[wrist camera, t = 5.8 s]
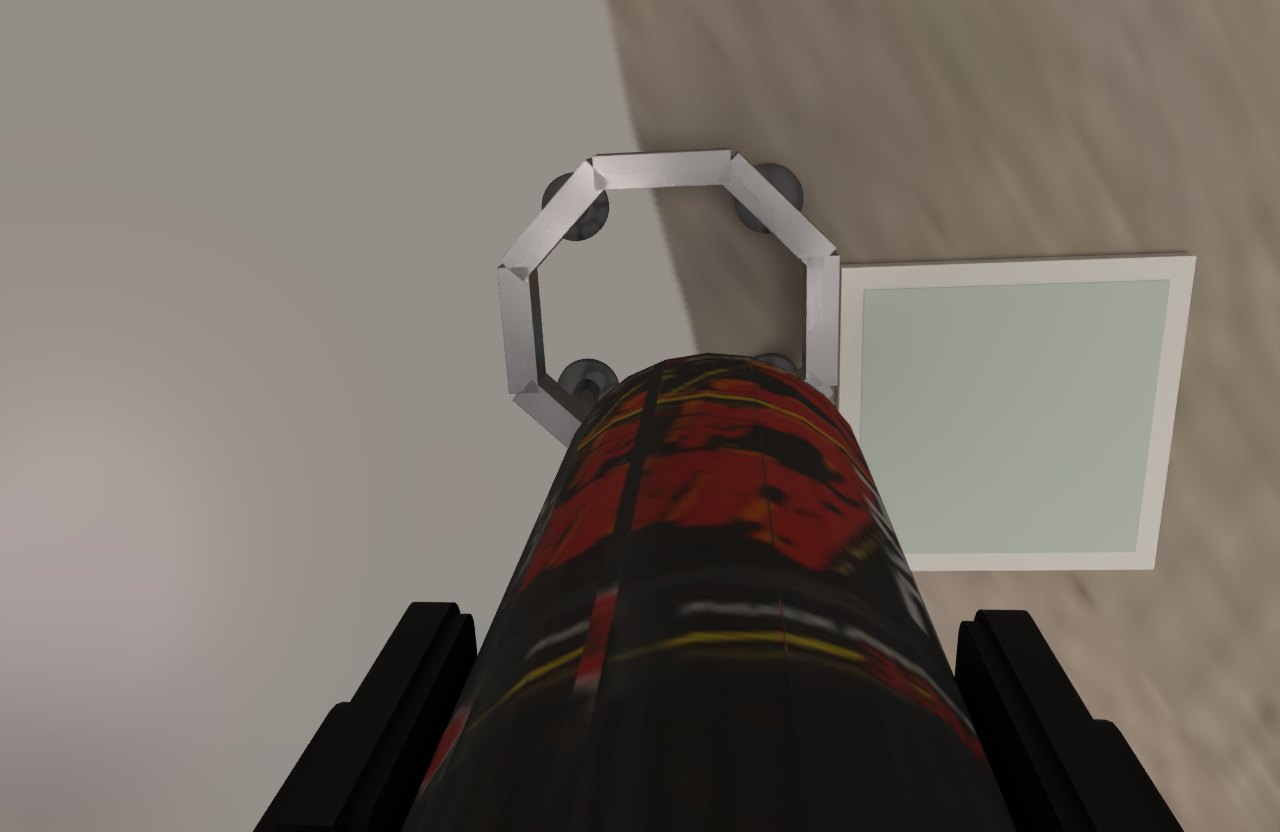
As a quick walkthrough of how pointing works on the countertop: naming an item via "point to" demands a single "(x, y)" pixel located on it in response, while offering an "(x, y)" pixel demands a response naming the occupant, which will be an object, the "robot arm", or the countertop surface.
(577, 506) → the deodorant
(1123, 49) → the countertop surface
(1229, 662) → the countertop surface
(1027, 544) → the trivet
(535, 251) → the ring stand
